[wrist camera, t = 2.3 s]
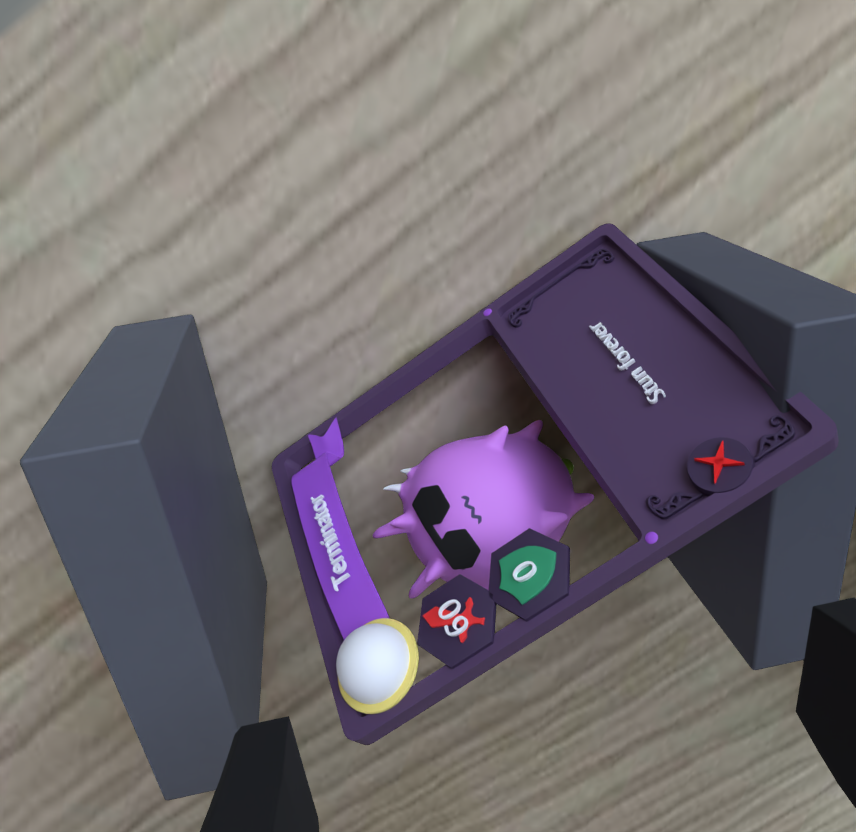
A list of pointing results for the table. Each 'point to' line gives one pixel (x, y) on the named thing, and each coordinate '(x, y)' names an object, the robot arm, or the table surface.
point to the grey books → (237, 550)
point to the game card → (542, 475)
